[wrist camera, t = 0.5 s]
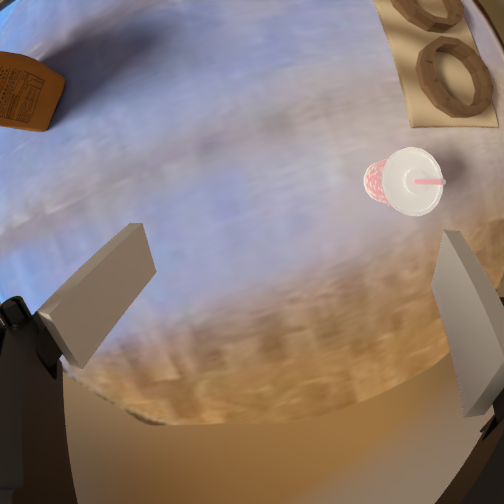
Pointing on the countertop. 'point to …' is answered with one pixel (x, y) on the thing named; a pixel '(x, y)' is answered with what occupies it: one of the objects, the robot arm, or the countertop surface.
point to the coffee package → (27, 92)
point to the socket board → (437, 63)
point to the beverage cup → (406, 181)
